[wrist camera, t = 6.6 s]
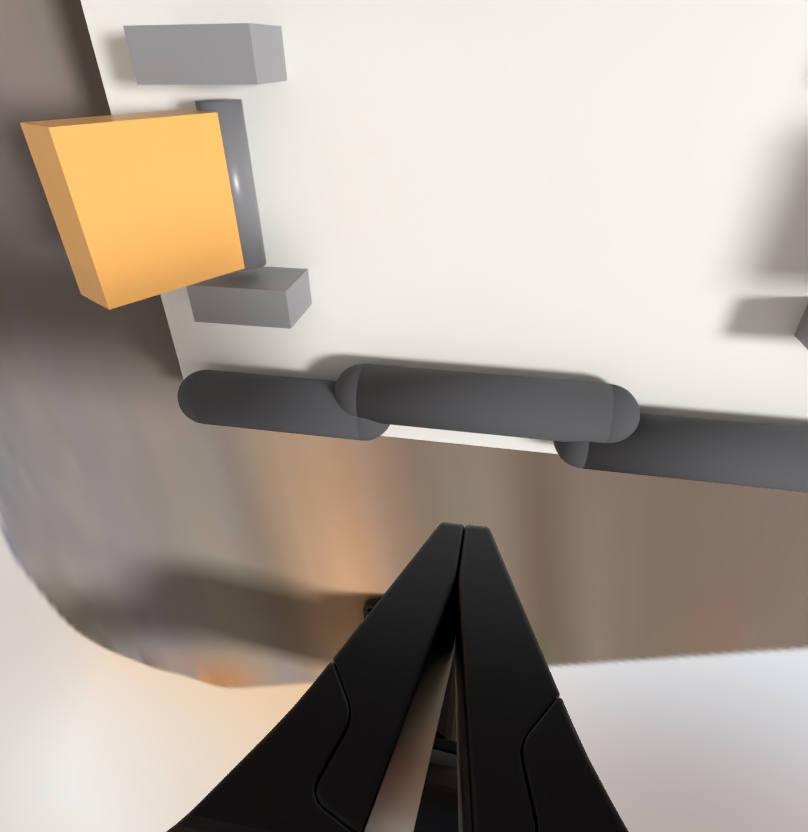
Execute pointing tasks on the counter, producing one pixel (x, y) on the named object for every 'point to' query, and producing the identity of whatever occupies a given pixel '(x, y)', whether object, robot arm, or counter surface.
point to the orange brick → (150, 198)
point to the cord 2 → (506, 419)
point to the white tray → (502, 191)
